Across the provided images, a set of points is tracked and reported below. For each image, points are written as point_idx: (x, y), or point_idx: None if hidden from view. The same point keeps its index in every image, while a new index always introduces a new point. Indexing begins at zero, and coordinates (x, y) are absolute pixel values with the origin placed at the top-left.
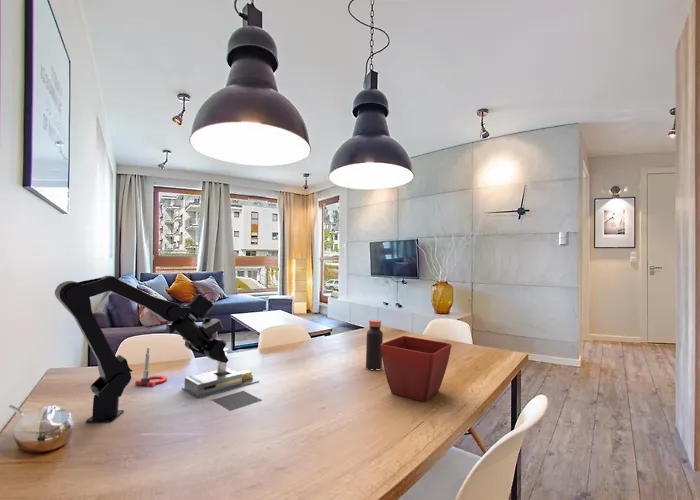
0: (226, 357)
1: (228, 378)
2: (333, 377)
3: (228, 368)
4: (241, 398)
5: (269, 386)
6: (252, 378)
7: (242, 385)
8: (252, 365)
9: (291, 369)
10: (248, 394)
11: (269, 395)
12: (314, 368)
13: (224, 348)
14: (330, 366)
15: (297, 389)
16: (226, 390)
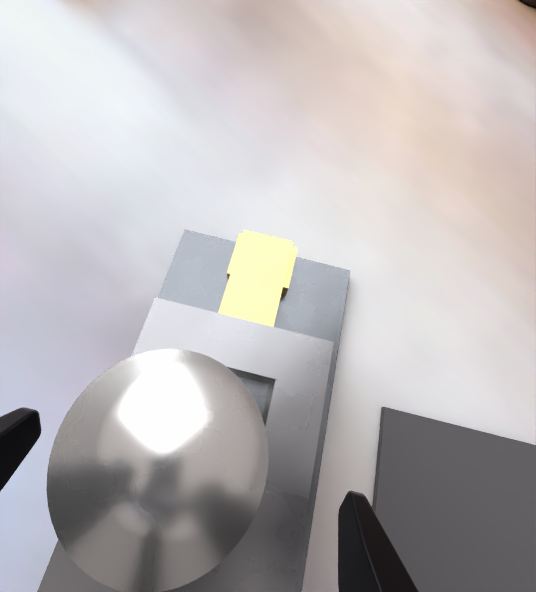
0: (404, 573)
1: (315, 448)
2: (515, 98)
3: (171, 308)
4: (470, 502)
5: (416, 282)
6: (298, 261)
7: (335, 364)
8: (138, 116)
9: (327, 92)
10: (449, 434)
11: (509, 369)
12: (390, 54)
13: (168, 395)
14: (418, 22)
15: (530, 251)
16: (318, 468)
